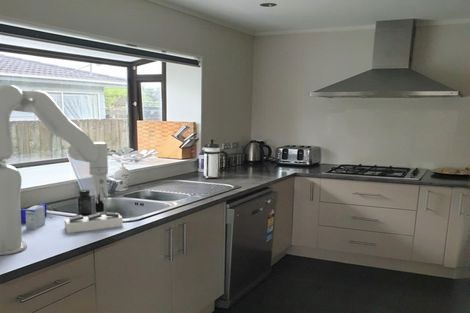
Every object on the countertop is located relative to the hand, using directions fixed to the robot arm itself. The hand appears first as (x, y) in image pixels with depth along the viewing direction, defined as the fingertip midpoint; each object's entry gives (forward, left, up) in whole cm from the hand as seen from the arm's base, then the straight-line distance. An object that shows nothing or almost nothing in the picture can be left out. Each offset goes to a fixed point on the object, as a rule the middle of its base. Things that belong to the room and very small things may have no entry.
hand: (99, 211), depth 173 cm
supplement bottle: (+14, +21, -7) cm, 26 cm away
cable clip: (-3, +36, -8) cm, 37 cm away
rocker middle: (-2, +1, -2) cm, 3 cm away
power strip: (-1, +3, -7) cm, 8 cm away
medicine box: (-11, +26, -7) cm, 29 cm away
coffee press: (+137, +5, -7) cm, 138 cm away
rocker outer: (+4, -3, -2) cm, 6 cm away
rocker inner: (-8, +6, -2) cm, 10 cm away
